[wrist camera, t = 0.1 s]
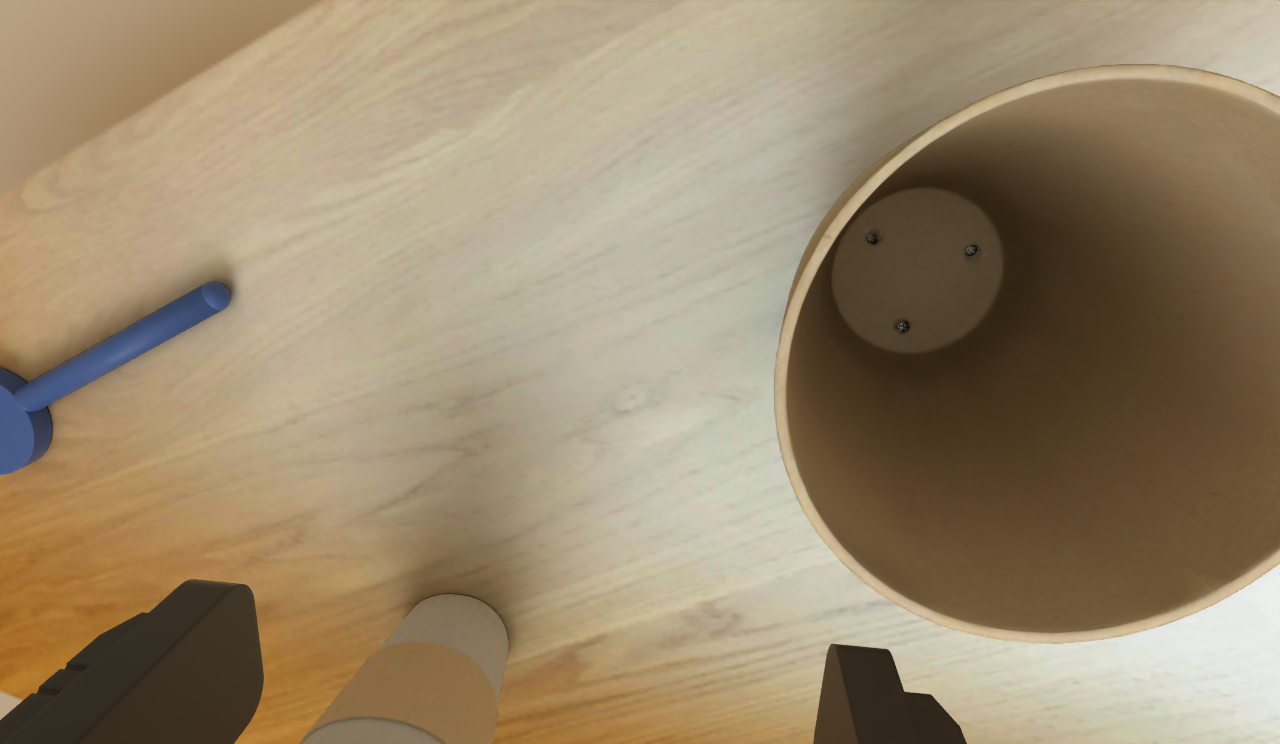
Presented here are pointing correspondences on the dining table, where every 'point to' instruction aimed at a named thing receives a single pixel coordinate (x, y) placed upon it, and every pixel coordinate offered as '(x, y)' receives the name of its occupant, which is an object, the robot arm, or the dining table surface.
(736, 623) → the dining table surface
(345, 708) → the coffee cup
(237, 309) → the dining table surface
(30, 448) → the blue spoon
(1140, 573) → the plant pot
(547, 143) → the dining table surface
